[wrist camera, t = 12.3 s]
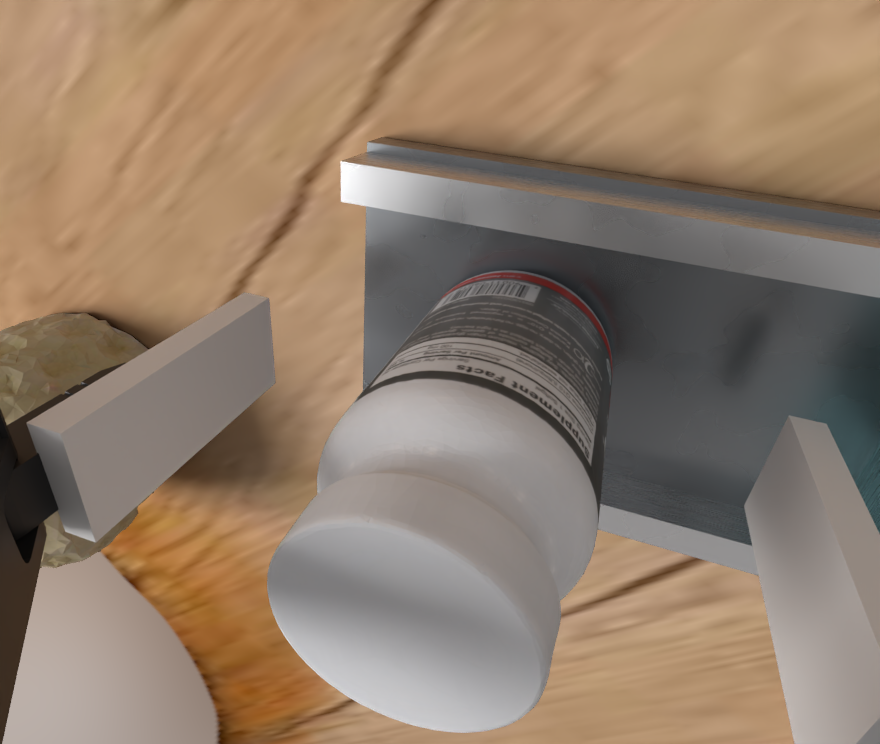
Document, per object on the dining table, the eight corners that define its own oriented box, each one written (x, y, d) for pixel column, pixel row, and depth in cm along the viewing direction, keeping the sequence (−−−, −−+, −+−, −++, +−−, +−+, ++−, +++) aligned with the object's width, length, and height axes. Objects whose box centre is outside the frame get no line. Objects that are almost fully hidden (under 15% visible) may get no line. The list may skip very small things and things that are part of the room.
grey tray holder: (373, 420, 21) (289, 532, 16) (381, 137, 16) (263, 176, 11) (842, 545, 18) (916, 738, 13) (1045, 235, 13) (1301, 357, 8)
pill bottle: (535, 464, 19) (449, 789, 10) (395, 364, 19) (194, 616, 10) (659, 344, 16) (674, 675, 7) (490, 222, 15) (310, 420, 7)
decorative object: (74, 295, 28) (-125, 442, 24) (49, 246, 19) (-267, 463, 16) (211, 424, 31) (52, 574, 27) (245, 432, 22) (16, 655, 18)
